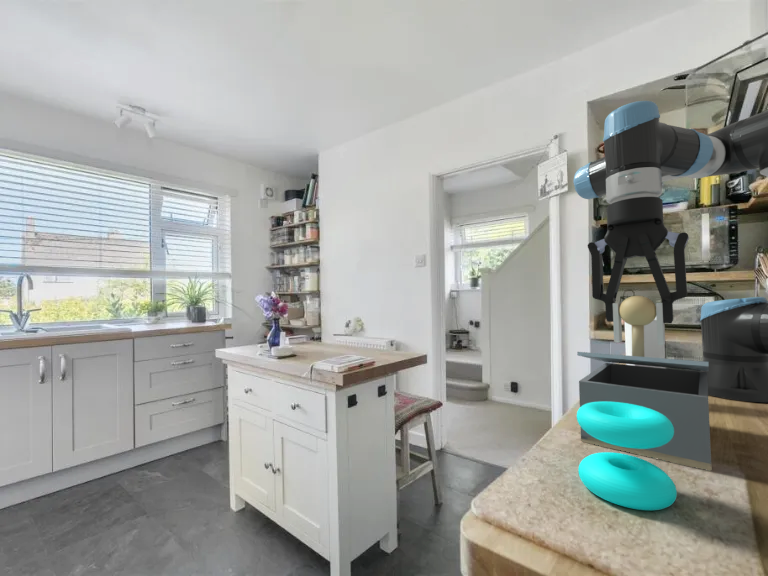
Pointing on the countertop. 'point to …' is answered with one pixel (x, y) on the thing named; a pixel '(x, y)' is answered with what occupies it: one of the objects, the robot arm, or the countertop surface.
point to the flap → (642, 338)
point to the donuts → (621, 471)
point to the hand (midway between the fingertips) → (639, 342)
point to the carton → (657, 407)
